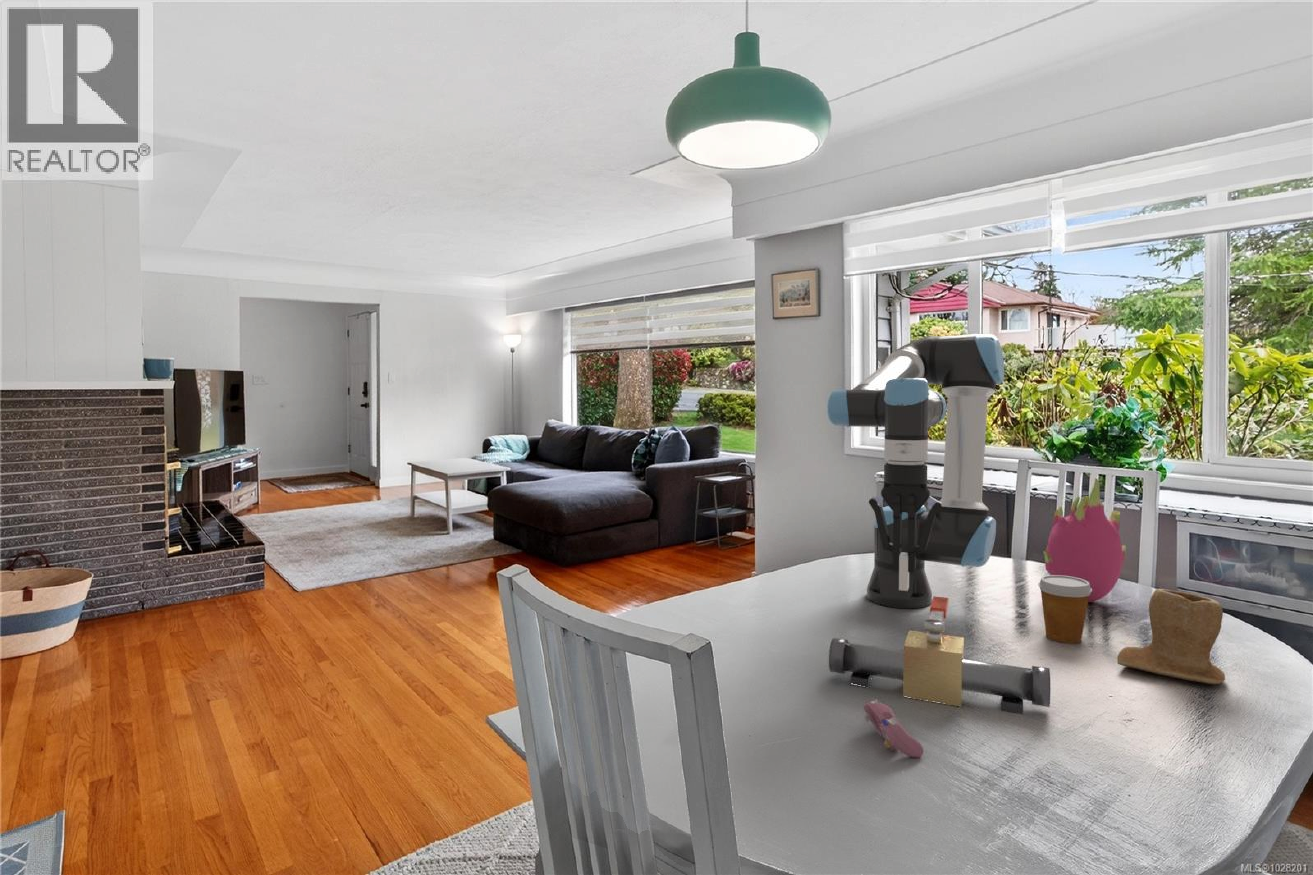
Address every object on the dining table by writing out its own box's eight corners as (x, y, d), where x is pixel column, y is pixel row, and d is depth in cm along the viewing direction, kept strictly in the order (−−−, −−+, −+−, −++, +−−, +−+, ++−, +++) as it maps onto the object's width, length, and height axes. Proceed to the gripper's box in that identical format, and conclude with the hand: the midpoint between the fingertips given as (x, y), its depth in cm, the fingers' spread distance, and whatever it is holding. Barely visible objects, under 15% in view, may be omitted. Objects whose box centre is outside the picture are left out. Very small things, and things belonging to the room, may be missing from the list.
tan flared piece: (1226, 672, 126) (1230, 591, 125) (1223, 695, 117) (1227, 607, 116) (1126, 652, 136) (1128, 577, 135) (1115, 672, 127) (1118, 591, 126)
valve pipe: (836, 668, 131) (837, 611, 130) (1046, 701, 116) (1048, 637, 115) (827, 684, 124) (827, 625, 123) (1050, 722, 109) (1051, 654, 108)
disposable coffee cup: (1098, 647, 139) (1100, 588, 138) (1046, 645, 140) (1047, 586, 140) (1079, 631, 148) (1081, 575, 147) (1030, 628, 150) (1032, 573, 149)
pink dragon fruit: (1109, 594, 173) (1113, 473, 170) (1137, 611, 159) (1141, 481, 157) (1032, 591, 176) (1034, 473, 174) (1052, 608, 162) (1056, 480, 160)
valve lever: (943, 635, 117) (944, 625, 117) (923, 632, 118) (923, 622, 118) (949, 607, 131) (950, 598, 131) (931, 605, 133) (931, 596, 133)
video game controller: (872, 737, 108) (852, 699, 108) (897, 722, 109) (878, 684, 108) (900, 772, 99) (879, 730, 98) (928, 756, 99) (907, 714, 98)
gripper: (865, 463, 128) (864, 589, 130) (942, 465, 122) (940, 598, 124) (872, 459, 135) (871, 580, 136) (945, 461, 129) (943, 587, 131)
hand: (904, 588), depth 130 cm, fingers closed
